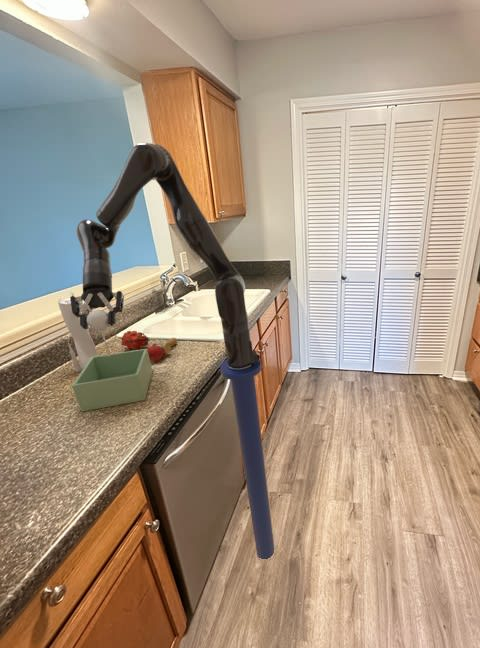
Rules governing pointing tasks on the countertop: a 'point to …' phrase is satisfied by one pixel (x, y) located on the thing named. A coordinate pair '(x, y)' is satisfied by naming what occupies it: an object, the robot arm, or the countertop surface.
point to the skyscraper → (77, 335)
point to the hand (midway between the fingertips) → (98, 326)
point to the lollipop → (99, 322)
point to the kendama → (160, 349)
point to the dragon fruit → (134, 340)
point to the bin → (113, 380)
